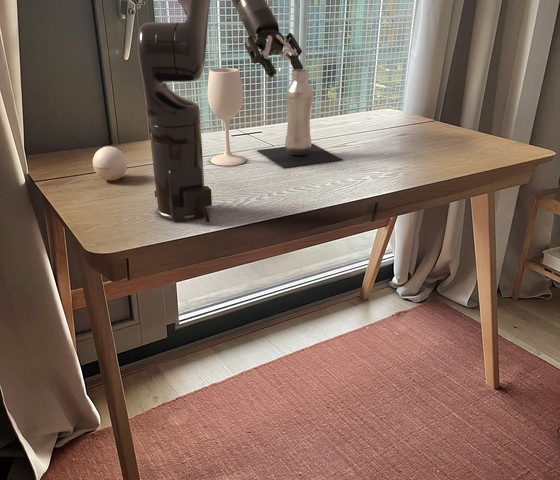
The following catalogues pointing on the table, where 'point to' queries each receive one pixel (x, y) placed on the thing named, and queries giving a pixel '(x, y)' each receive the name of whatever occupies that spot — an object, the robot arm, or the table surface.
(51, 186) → the table surface
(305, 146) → the plastic bottle
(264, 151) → the felt mat
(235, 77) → the wineglass
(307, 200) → the table surface
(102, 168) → the white sphere
